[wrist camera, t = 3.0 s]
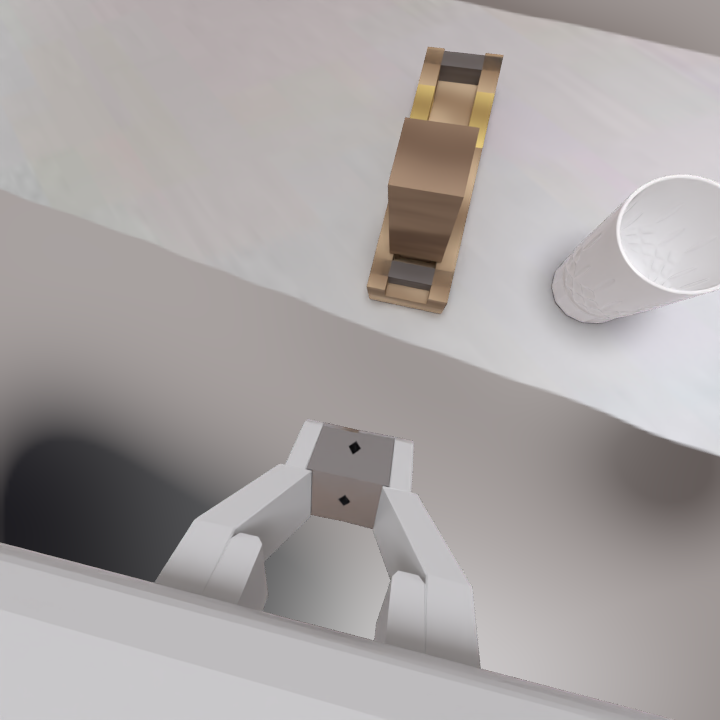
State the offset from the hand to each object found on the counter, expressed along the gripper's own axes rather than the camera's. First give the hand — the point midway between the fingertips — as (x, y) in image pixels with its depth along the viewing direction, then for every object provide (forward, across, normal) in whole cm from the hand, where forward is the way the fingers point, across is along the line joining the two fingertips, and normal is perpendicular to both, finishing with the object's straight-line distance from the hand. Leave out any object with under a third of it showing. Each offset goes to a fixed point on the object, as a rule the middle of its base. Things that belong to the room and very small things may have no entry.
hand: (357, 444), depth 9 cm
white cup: (+26, +17, -2) cm, 31 cm away
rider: (+25, +1, 0) cm, 25 cm away
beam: (+31, +2, +4) cm, 31 cm away
